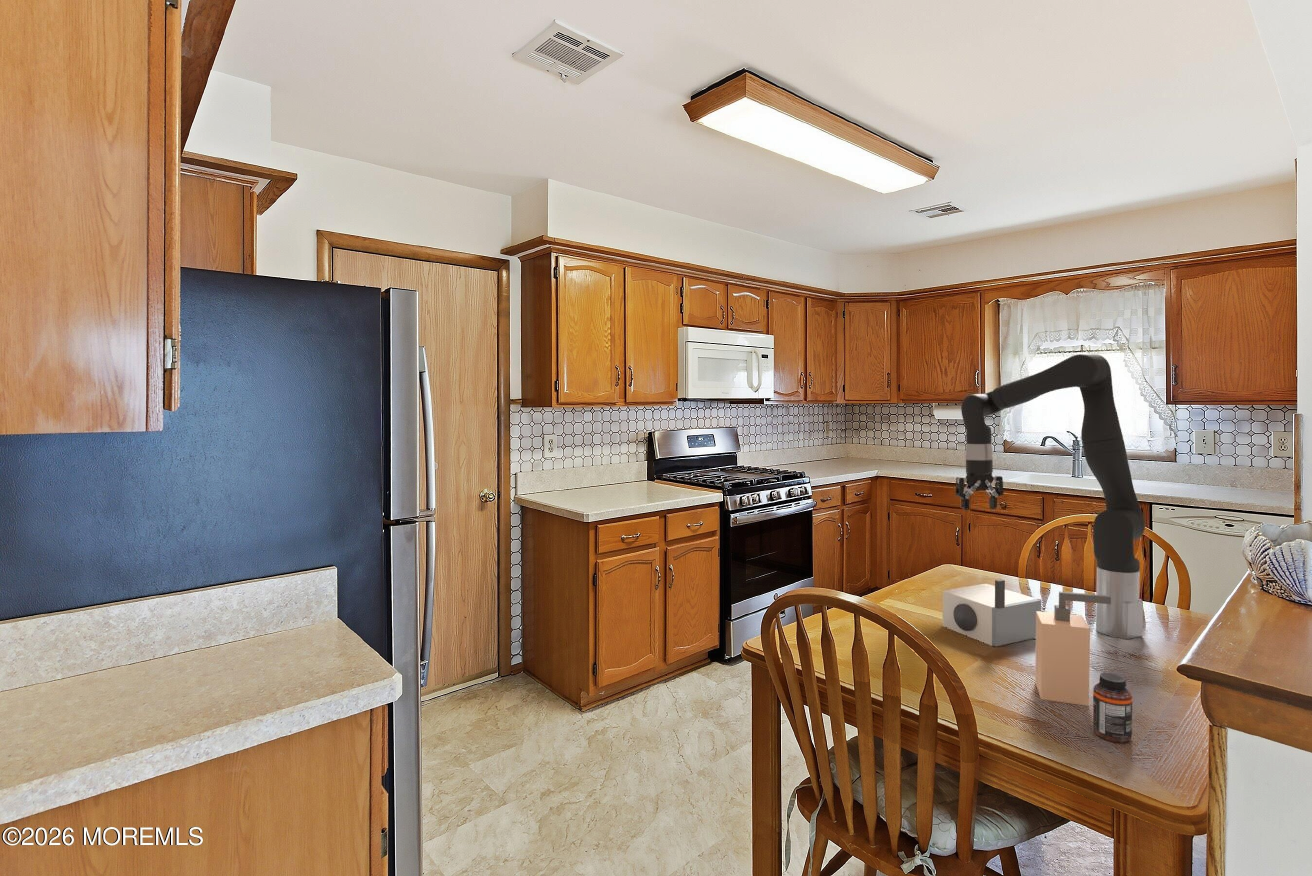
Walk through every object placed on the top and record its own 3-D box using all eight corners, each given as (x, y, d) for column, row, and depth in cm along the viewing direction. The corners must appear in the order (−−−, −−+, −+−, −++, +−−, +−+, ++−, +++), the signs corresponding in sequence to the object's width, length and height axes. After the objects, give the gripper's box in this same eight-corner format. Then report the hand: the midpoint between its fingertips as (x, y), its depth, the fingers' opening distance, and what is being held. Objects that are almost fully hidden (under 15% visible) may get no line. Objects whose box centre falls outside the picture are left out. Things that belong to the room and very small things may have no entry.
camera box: (1036, 636, 171) (1036, 598, 170) (989, 646, 165) (989, 607, 164) (985, 617, 186) (985, 583, 185) (940, 626, 180) (940, 591, 179)
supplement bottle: (1094, 724, 125) (1095, 667, 124) (1132, 734, 121) (1133, 675, 121) (1090, 737, 120) (1091, 678, 120) (1130, 747, 117) (1131, 686, 116)
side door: (1043, 636, 170) (1044, 573, 169) (997, 646, 164) (997, 581, 163) (1038, 634, 171) (1038, 572, 170) (992, 644, 165) (992, 580, 164)
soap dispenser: (1040, 699, 136) (1041, 596, 135) (1035, 682, 144) (1036, 585, 142) (1113, 709, 131) (1115, 602, 129) (1103, 692, 139) (1105, 590, 137)
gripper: (963, 459, 198) (964, 512, 199) (1008, 458, 199) (1008, 510, 200) (950, 458, 205) (951, 509, 206) (993, 456, 206) (994, 507, 207)
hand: (979, 509), depth 203 cm, fingers open, 8 cm apart
